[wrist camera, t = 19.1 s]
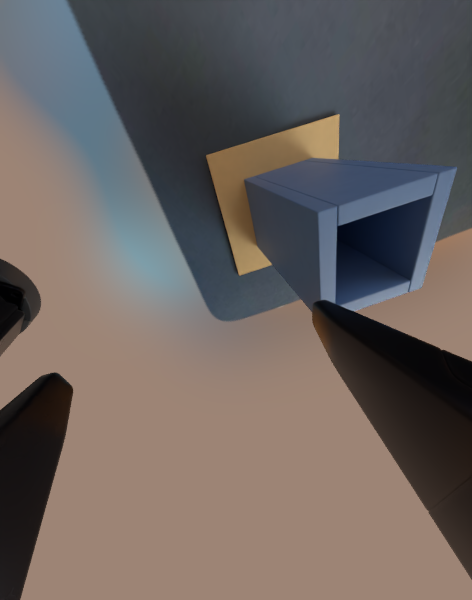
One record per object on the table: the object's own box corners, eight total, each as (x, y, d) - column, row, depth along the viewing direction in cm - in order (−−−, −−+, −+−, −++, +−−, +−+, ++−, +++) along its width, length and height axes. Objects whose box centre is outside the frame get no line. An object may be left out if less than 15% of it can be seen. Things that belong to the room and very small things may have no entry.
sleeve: (257, 247, 20) (320, 323, 11) (243, 179, 17) (317, 212, 8) (315, 227, 21) (422, 288, 12) (312, 157, 17) (458, 166, 8)
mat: (238, 274, 22) (239, 275, 22) (205, 155, 16) (206, 155, 16) (335, 242, 22) (336, 243, 22) (337, 114, 16) (339, 114, 16)
